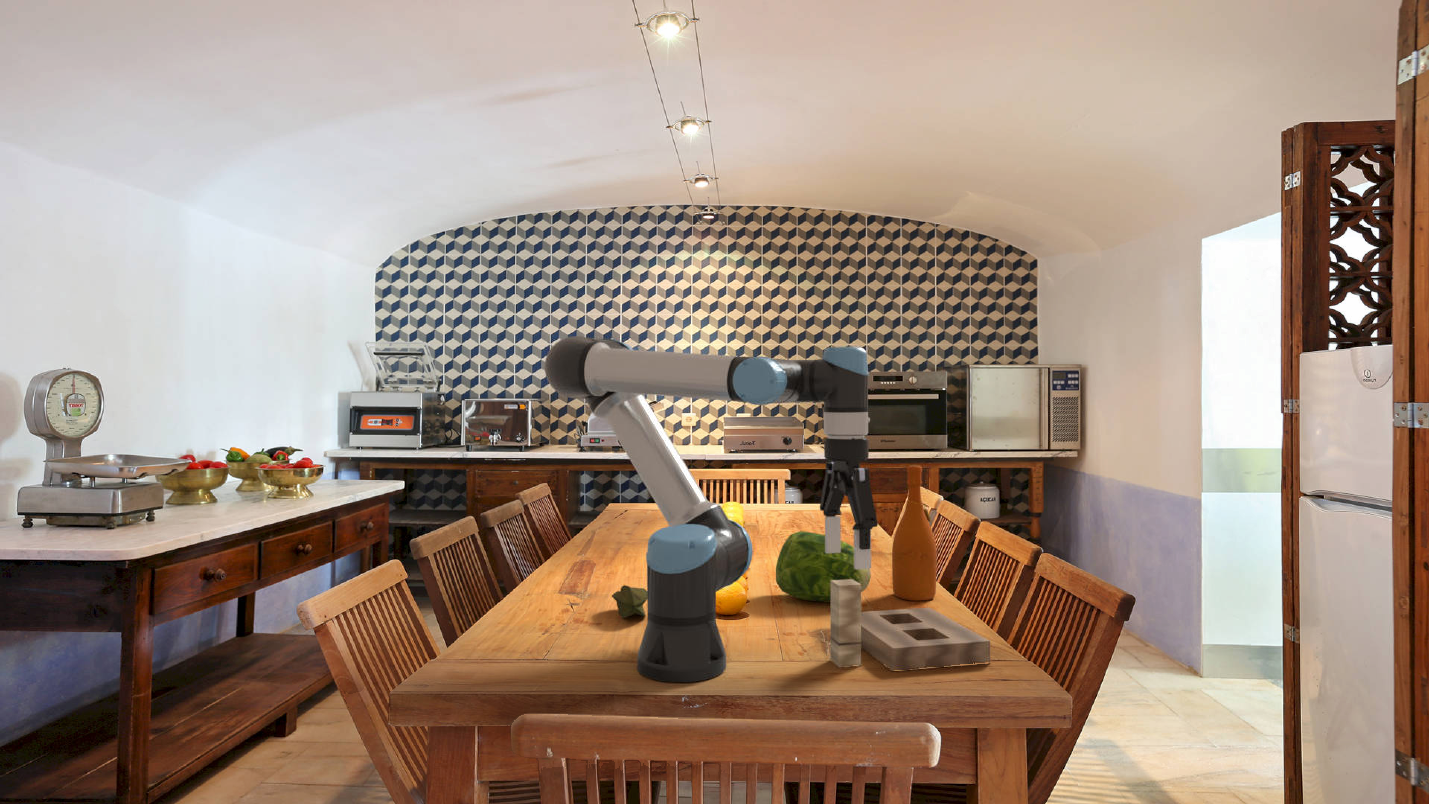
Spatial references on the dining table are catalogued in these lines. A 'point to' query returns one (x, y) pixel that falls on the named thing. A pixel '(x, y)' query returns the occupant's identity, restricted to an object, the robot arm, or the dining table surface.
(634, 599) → the fruit
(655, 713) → the dining table surface
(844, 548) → the lettuce
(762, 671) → the dining table surface
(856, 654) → the peg
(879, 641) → the board
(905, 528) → the wine bottle
